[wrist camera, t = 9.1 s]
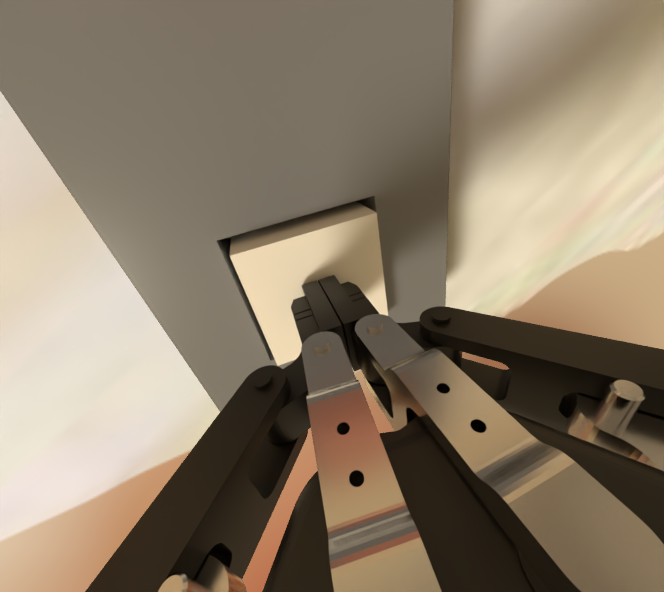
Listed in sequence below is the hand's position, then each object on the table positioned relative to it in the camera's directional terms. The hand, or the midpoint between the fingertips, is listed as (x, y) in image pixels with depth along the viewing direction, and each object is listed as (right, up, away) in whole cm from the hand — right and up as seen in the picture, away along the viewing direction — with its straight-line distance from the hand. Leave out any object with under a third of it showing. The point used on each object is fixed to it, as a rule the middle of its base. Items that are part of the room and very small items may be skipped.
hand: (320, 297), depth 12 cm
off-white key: (-1, +2, +3) cm, 4 cm away
